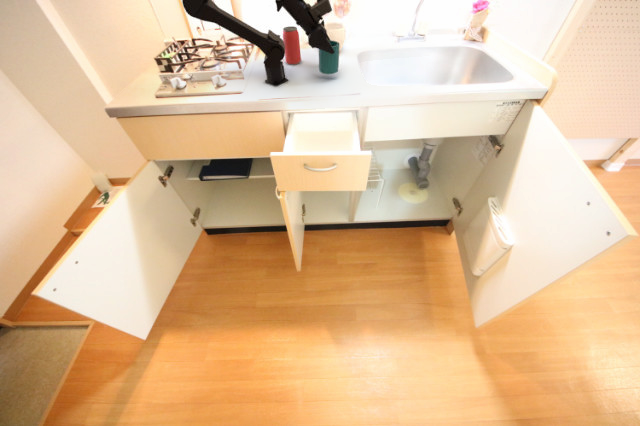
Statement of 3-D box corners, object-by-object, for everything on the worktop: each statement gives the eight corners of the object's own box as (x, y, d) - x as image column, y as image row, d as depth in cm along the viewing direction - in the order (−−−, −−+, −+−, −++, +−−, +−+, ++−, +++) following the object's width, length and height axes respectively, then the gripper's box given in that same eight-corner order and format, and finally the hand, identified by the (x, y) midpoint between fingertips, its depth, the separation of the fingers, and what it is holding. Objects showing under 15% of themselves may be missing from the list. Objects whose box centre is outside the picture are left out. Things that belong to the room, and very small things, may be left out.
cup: (349, 54, 108) (350, 27, 100) (323, 58, 105) (323, 32, 98) (337, 46, 115) (338, 20, 108) (314, 50, 112) (312, 24, 105)
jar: (330, 75, 87) (330, 48, 80) (315, 70, 90) (314, 44, 83) (341, 69, 90) (343, 43, 84) (327, 64, 93) (327, 39, 87)
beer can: (284, 60, 105) (279, 27, 96) (298, 58, 106) (295, 25, 97) (288, 66, 101) (284, 31, 92) (303, 63, 102) (300, 29, 93)
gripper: (318, -9, 66) (354, 37, 75) (315, -20, 77) (346, 21, 86) (292, 27, 72) (328, 66, 81) (293, 12, 83) (324, 47, 92)
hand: (332, 49), depth 85 cm, fingers closed on jar, 7 cm apart
